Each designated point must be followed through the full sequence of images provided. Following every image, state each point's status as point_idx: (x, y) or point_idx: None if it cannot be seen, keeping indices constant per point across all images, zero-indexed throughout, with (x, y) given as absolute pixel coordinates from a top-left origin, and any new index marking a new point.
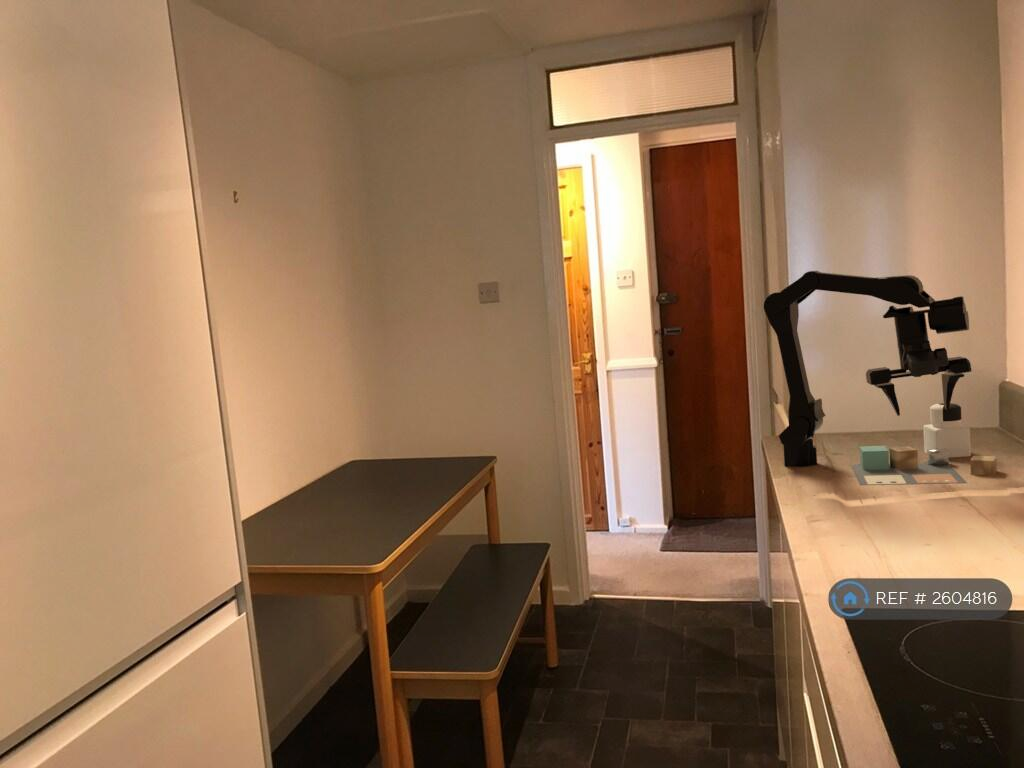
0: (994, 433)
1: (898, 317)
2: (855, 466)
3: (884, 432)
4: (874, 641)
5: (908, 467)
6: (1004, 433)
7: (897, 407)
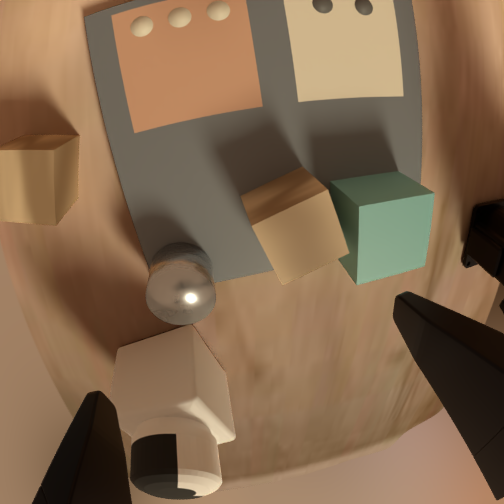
0: None
1: None
2: None
3: (290, 466)
4: None
5: (273, 183)
6: None
7: (443, 319)
